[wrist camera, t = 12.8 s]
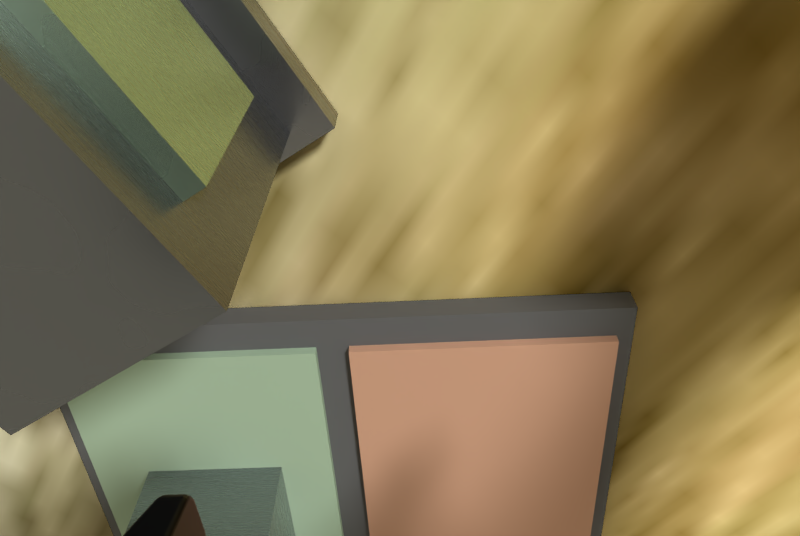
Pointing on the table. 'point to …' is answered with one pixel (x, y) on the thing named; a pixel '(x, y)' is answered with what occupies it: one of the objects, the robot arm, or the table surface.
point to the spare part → (226, 499)
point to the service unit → (131, 178)
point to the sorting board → (382, 413)
